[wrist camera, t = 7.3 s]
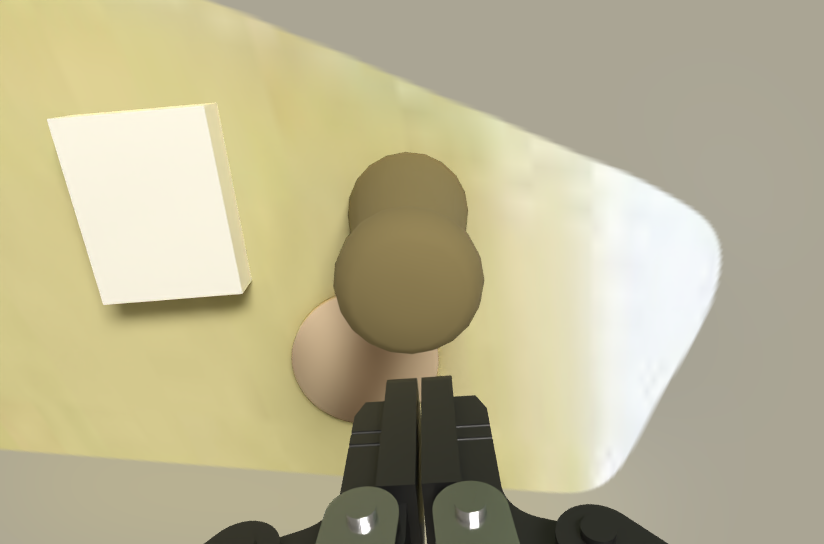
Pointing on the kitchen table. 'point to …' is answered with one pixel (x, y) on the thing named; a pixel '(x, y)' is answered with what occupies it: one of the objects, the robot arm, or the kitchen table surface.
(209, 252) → the tile
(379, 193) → the pepper shaker
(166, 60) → the kitchen table surface
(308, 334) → the disc
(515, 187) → the kitchen table surface
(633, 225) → the kitchen table surface
